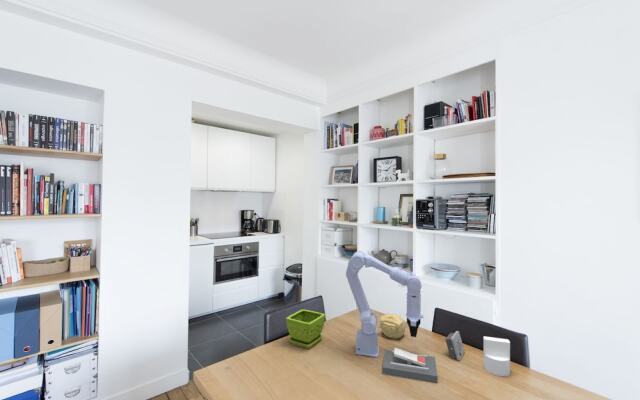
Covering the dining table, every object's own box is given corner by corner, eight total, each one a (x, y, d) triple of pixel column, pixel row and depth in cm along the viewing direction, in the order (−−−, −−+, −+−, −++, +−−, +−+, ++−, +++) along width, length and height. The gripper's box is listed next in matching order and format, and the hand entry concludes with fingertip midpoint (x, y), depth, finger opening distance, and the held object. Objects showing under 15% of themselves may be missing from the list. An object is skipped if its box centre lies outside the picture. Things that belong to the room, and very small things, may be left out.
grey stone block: (459, 362, 123) (457, 339, 124) (446, 359, 126) (444, 336, 127) (465, 352, 131) (462, 331, 131) (452, 350, 134) (450, 329, 134)
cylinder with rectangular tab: (506, 365, 120) (506, 336, 120) (512, 378, 112) (512, 346, 112) (481, 361, 123) (481, 333, 123) (485, 373, 115) (485, 343, 115)
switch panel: (382, 373, 115) (382, 361, 115) (385, 355, 128) (385, 344, 128) (437, 383, 109) (437, 370, 109) (434, 362, 123) (434, 351, 123)
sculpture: (377, 337, 145) (377, 315, 145) (386, 328, 155) (386, 307, 155) (400, 343, 139) (400, 320, 139) (408, 334, 149) (408, 312, 149)
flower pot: (326, 340, 143) (326, 313, 142) (309, 353, 131) (309, 324, 131) (302, 333, 150) (302, 308, 150) (284, 344, 138) (284, 317, 138)
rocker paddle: (393, 355, 118) (394, 353, 118) (394, 349, 123) (394, 346, 123) (424, 367, 115) (425, 364, 115) (424, 360, 120) (424, 357, 119)
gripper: (423, 311, 119) (423, 345, 119) (423, 299, 132) (423, 330, 133) (405, 309, 121) (405, 342, 121) (406, 298, 135) (406, 328, 135)
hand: (413, 336), depth 127 cm, fingers closed
